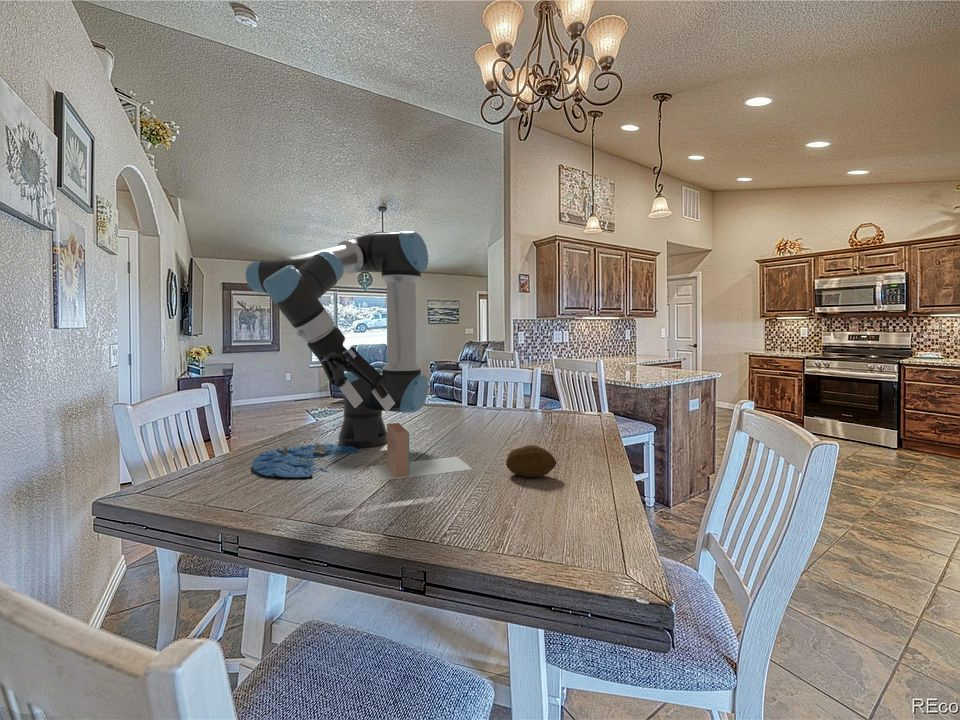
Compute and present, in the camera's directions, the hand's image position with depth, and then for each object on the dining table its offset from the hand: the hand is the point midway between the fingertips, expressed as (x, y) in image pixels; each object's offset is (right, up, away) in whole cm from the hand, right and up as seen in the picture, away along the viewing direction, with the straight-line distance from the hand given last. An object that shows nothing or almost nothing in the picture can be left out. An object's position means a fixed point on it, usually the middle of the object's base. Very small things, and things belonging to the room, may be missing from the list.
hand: (374, 405), depth 112 cm
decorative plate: (-20, -17, +17) cm, 32 cm away
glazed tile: (+4, -17, +6) cm, 19 cm away
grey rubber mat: (+10, -18, +9) cm, 22 cm away
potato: (+38, -18, +6) cm, 42 cm away
